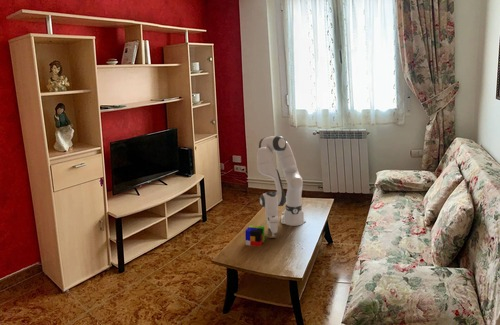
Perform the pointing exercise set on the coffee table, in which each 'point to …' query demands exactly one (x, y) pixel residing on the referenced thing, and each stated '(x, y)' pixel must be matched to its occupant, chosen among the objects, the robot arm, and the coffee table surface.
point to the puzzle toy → (254, 235)
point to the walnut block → (271, 234)
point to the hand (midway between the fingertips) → (272, 234)
